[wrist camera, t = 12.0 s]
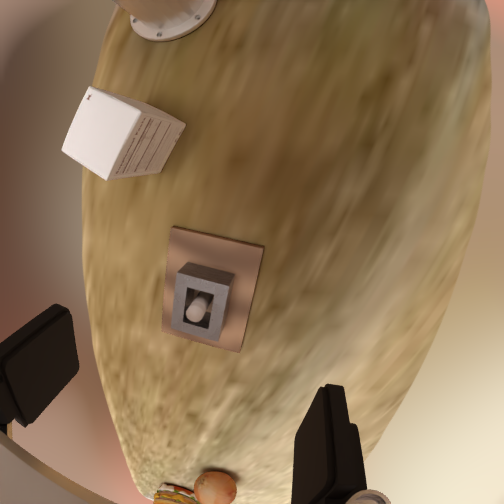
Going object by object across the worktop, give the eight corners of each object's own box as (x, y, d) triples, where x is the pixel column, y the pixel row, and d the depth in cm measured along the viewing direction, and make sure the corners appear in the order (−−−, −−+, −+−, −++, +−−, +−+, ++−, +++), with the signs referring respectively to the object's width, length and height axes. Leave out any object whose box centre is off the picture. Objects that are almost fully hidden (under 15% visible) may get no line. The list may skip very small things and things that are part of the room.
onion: (215, 460, 52) (205, 495, 43) (248, 477, 53) (242, 511, 44) (190, 469, 55) (179, 500, 46) (222, 486, 56) (214, 516, 47)
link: (187, 261, 38) (176, 272, 34) (235, 273, 38) (229, 286, 34) (180, 313, 40) (170, 328, 37) (224, 326, 40) (218, 341, 36)
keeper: (173, 225, 38) (152, 238, 32) (264, 246, 37) (258, 263, 31) (163, 328, 43) (146, 351, 37) (240, 349, 42) (232, 377, 36)
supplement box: (120, 149, 36) (58, 150, 24) (145, 101, 33) (88, 82, 21) (160, 175, 36) (105, 183, 24) (189, 125, 34) (141, 109, 22)
